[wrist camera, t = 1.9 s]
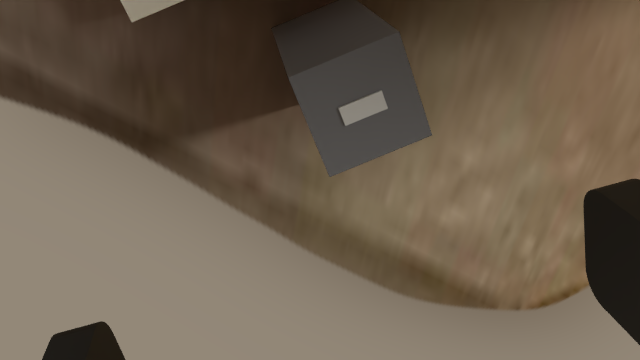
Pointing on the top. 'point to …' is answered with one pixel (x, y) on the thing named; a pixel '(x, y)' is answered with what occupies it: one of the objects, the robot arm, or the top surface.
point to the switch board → (145, 7)
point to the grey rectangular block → (351, 83)
